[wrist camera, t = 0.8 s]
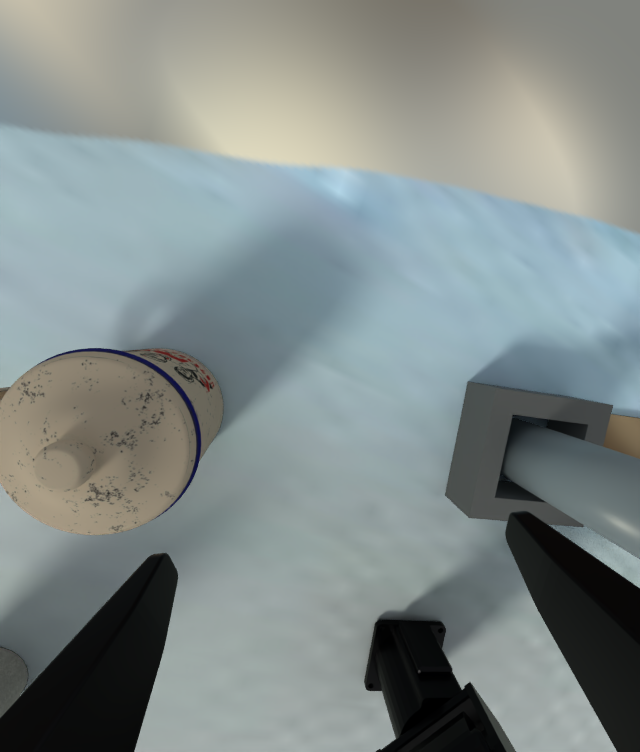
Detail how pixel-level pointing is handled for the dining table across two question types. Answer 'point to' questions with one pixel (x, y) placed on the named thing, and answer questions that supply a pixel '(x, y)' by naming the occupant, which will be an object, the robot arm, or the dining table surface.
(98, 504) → the teacup with lid
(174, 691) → the dining table surface
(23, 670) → the house plant
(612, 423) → the mat
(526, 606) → the dining table surface
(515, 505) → the frame
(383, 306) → the dining table surface
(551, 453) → the ball
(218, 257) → the dining table surface
